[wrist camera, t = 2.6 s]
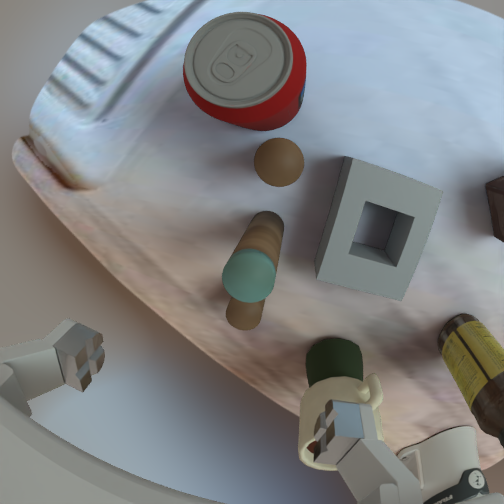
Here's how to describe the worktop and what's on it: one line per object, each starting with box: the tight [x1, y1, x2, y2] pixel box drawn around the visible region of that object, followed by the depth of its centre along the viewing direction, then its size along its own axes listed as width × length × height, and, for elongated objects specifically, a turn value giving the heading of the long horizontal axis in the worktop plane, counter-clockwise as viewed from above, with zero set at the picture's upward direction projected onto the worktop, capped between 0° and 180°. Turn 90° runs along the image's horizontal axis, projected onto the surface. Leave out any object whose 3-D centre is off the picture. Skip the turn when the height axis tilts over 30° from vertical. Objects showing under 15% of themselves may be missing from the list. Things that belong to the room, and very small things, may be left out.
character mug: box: [298, 338, 384, 471], centre depth 25 cm, size 11×7×13 cm, turn 156°
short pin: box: [226, 297, 265, 330], centre depth 27 cm, size 3×3×5 cm
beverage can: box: [183, 12, 306, 131], centre depth 18 cm, size 7×7×12 cm
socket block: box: [314, 156, 443, 301], centre depth 24 cm, size 10×8×4 cm
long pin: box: [222, 211, 284, 303], centre depth 22 cm, size 3×3×11 cm
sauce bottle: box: [438, 314, 504, 448], centre depth 19 cm, size 6×6×20 cm
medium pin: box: [254, 138, 304, 187], centre depth 21 cm, size 3×3×8 cm
